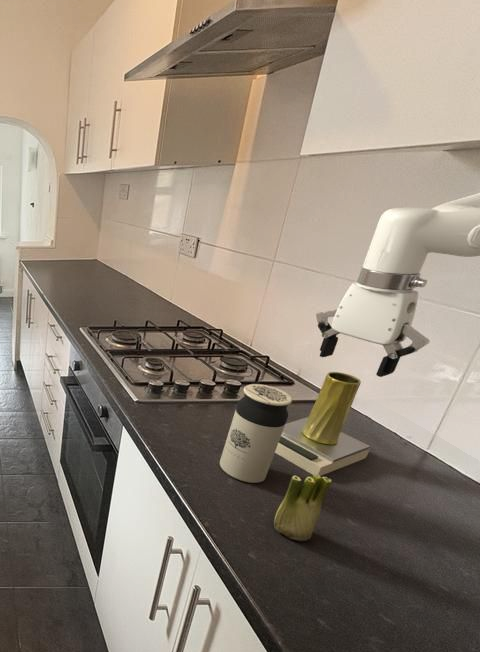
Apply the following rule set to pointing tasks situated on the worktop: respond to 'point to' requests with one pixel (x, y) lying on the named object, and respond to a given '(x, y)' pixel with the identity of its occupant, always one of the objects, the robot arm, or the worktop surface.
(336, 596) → the worktop surface
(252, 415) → the travel mug
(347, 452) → the gray slab
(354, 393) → the vase
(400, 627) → the worktop surface
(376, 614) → the worktop surface
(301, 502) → the fennel bulb
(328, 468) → the scale
